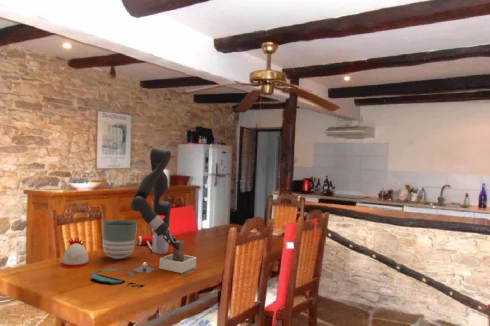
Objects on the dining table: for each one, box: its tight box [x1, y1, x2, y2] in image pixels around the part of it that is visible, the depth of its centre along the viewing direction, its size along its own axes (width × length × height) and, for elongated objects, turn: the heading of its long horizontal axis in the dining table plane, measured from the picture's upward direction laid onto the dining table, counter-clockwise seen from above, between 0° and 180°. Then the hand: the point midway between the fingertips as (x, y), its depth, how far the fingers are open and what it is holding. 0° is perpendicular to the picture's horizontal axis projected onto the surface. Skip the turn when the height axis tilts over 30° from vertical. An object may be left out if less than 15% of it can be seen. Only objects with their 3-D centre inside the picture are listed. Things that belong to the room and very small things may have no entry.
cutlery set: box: [90, 268, 146, 289], centre depth 204 cm, size 20×30×2 cm, turn 72°
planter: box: [102, 219, 138, 260], centre depth 242 cm, size 20×20×21 cm
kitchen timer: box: [61, 236, 90, 268], centre depth 225 cm, size 14×14×15 cm
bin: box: [158, 253, 197, 277], centre depth 226 cm, size 15×15×7 cm
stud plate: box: [131, 261, 158, 275], centre depth 218 cm, size 10×10×5 cm
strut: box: [172, 240, 186, 262], centre depth 226 cm, size 4×4×15 cm
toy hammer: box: [137, 235, 154, 253], centre depth 273 cm, size 23×12×6 cm, turn 25°
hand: (177, 246), depth 225 cm, fingers open, 8 cm apart
